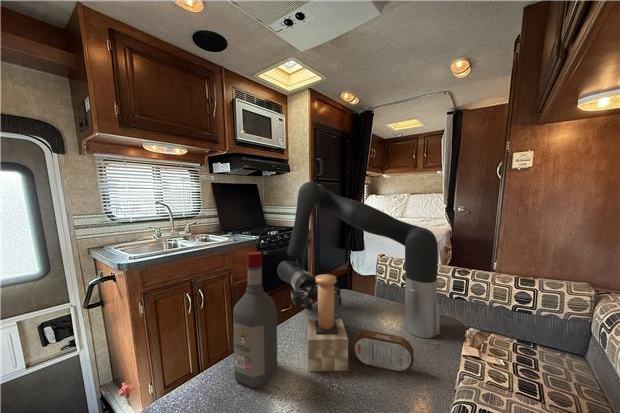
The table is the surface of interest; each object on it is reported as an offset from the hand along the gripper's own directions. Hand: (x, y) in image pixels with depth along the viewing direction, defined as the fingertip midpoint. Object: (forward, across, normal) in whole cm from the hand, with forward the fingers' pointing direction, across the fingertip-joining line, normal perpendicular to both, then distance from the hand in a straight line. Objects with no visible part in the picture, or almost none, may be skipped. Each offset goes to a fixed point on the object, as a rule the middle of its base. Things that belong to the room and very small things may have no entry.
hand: (326, 304), depth 63 cm
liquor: (-2, -19, +15) cm, 24 cm away
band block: (0, 0, +15) cm, 15 cm away
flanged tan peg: (0, 0, +14) cm, 14 cm away
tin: (+8, +12, +15) cm, 21 cm away
